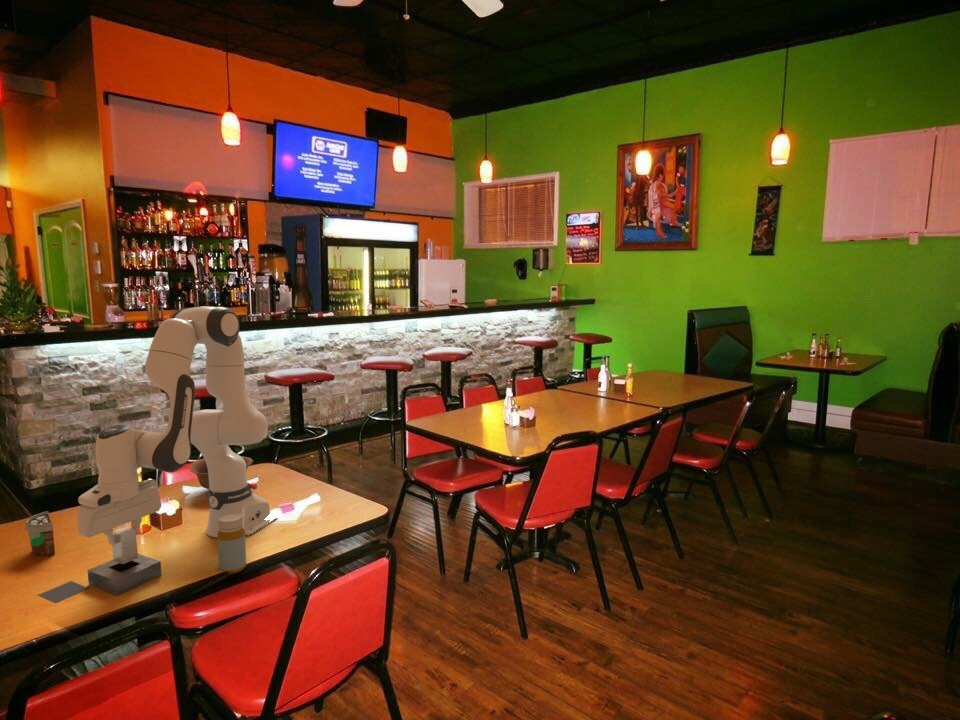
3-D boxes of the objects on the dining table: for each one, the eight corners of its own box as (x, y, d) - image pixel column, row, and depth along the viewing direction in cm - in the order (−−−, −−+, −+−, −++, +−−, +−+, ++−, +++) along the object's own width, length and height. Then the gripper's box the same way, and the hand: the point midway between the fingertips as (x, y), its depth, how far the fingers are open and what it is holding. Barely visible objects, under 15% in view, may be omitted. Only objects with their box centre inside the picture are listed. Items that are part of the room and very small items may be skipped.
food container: (25, 547, 180) (22, 515, 178) (51, 541, 184) (48, 510, 182) (29, 562, 170) (25, 529, 169) (55, 556, 174) (52, 523, 173)
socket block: (133, 568, 167) (132, 551, 167) (161, 578, 162) (160, 561, 161) (89, 588, 157) (87, 570, 156) (117, 599, 151) (116, 581, 151)
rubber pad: (71, 584, 159) (71, 580, 159) (89, 592, 155) (89, 588, 155) (37, 598, 152) (37, 595, 152) (56, 606, 148) (55, 603, 148)
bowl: (202, 506, 213) (200, 476, 211) (182, 489, 229) (181, 461, 227) (263, 491, 227) (262, 463, 226) (241, 476, 244) (239, 450, 242)
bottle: (250, 562, 172) (247, 512, 169) (241, 574, 165) (238, 522, 163) (225, 562, 171) (222, 512, 169) (215, 574, 164) (212, 522, 162)
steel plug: (128, 554, 162) (125, 526, 160) (137, 557, 160) (135, 529, 159) (113, 560, 158) (110, 532, 157) (123, 564, 156) (120, 535, 155)
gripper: (149, 474, 166) (153, 522, 169) (71, 499, 149) (76, 552, 151) (164, 478, 164) (168, 526, 166) (86, 504, 146) (91, 558, 148)
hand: (123, 539), depth 158 cm, fingers closed on steel plug, 4 cm apart
